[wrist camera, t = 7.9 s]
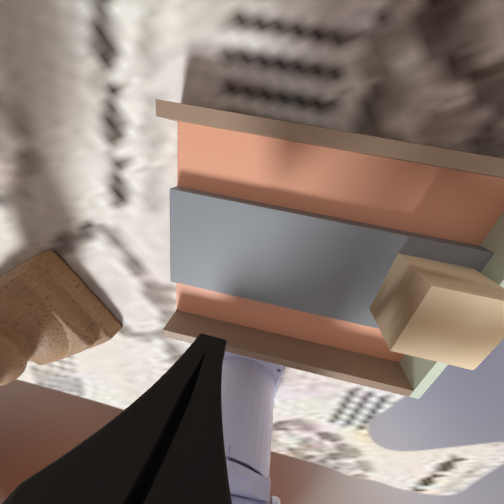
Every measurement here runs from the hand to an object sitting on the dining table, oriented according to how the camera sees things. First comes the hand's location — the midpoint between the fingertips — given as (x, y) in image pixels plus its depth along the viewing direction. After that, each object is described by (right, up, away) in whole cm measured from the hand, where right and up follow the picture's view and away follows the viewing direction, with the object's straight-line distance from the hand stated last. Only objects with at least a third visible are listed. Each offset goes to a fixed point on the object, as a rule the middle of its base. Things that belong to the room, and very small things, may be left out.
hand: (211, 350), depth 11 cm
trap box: (+7, +4, +7) cm, 10 cm away
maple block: (+14, +2, +5) cm, 15 cm away
